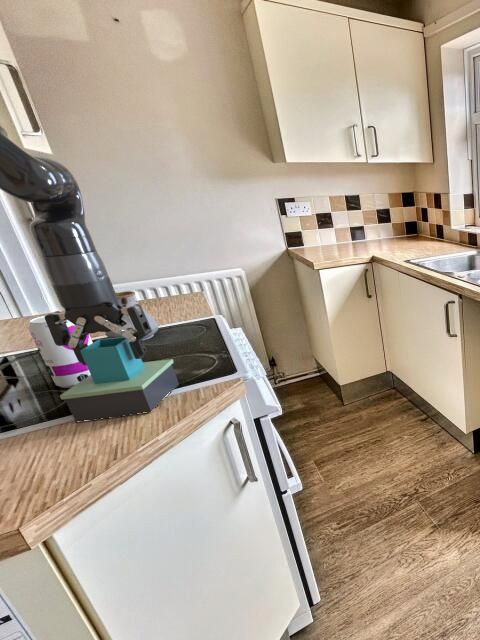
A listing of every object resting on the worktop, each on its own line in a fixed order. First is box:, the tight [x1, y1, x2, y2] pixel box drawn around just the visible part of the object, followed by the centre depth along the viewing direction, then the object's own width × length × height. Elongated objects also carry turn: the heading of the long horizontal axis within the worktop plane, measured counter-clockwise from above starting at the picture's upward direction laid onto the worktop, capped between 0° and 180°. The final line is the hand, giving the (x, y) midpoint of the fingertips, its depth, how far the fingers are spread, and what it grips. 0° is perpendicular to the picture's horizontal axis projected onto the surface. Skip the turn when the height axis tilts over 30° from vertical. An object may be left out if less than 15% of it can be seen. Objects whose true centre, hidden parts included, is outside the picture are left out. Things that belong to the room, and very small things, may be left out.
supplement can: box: [28, 315, 94, 389], centre depth 92 cm, size 8×8×15 cm
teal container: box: [80, 337, 145, 384], centre depth 81 cm, size 6×6×7 cm
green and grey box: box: [59, 358, 180, 423], centre depth 84 cm, size 13×13×6 cm
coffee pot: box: [104, 291, 160, 341], centre depth 113 cm, size 21×12×15 cm, turn 46°
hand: (115, 360), depth 81 cm, fingers open, 8 cm apart
